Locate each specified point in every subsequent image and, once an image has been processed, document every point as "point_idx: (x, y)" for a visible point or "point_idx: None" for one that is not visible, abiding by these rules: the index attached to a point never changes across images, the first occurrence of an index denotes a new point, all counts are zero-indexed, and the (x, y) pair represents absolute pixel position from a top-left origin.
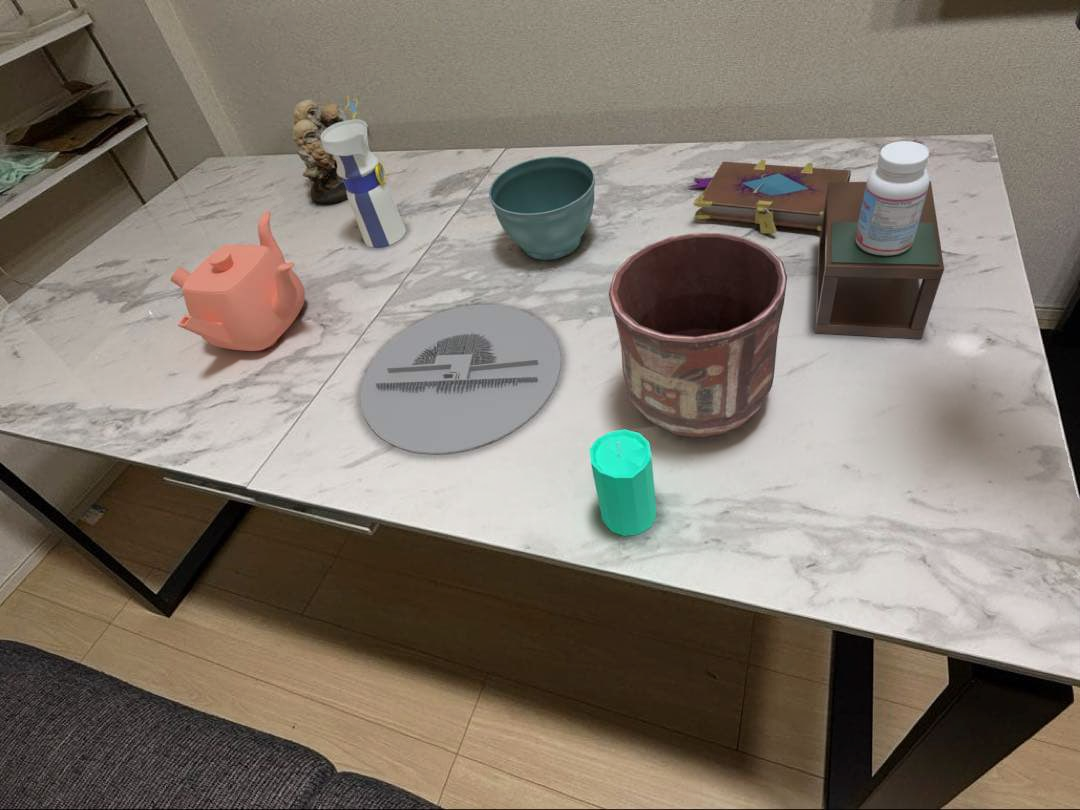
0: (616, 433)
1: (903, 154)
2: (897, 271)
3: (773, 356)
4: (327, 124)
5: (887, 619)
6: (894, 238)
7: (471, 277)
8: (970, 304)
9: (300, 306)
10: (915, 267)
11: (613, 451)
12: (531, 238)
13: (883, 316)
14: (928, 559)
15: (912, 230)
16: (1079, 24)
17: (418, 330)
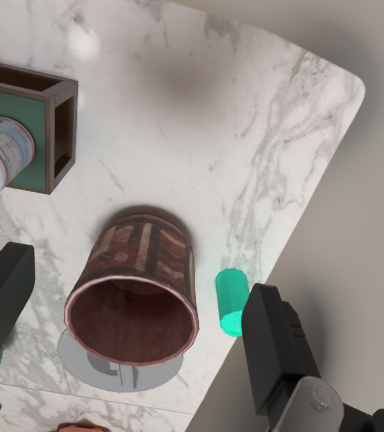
0: (222, 324)
1: None
2: (51, 136)
3: (158, 241)
4: None
5: (319, 170)
6: (26, 151)
7: (27, 360)
8: (22, 17)
9: (71, 429)
10: (49, 123)
11: (234, 324)
12: (2, 353)
13: (57, 112)
14: (287, 138)
15: (14, 134)
16: (30, 293)
17: (85, 377)
